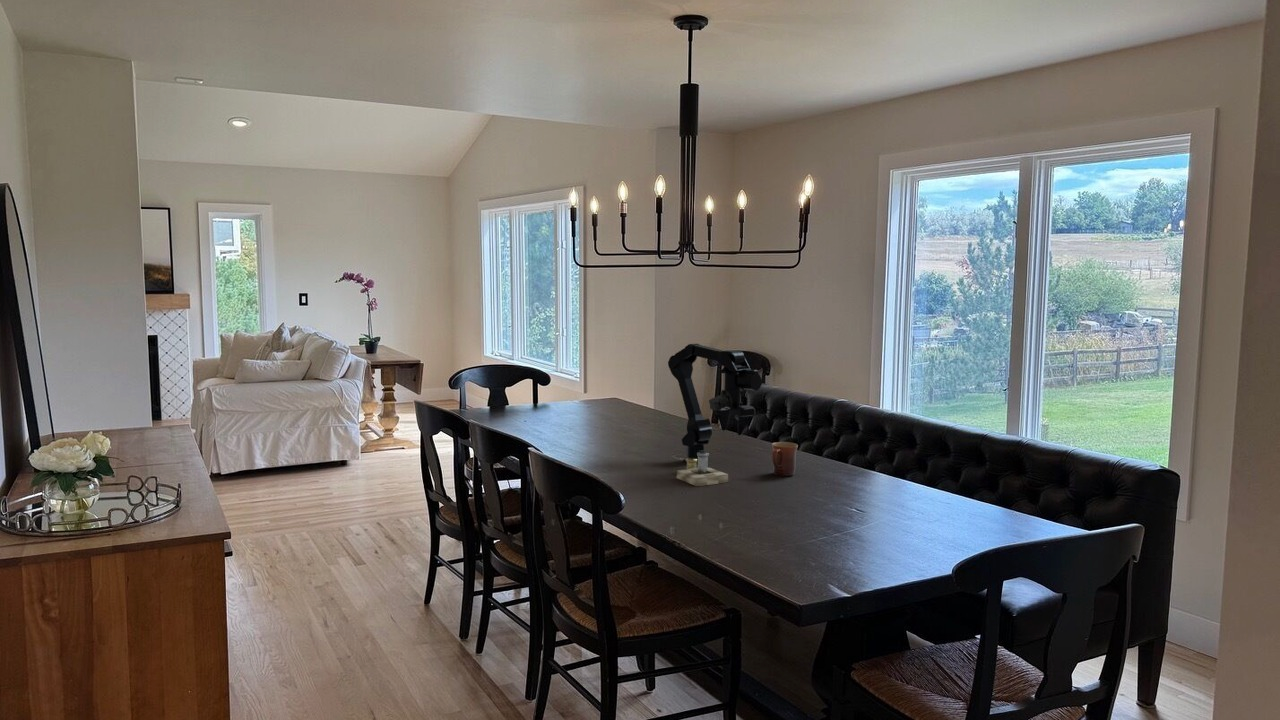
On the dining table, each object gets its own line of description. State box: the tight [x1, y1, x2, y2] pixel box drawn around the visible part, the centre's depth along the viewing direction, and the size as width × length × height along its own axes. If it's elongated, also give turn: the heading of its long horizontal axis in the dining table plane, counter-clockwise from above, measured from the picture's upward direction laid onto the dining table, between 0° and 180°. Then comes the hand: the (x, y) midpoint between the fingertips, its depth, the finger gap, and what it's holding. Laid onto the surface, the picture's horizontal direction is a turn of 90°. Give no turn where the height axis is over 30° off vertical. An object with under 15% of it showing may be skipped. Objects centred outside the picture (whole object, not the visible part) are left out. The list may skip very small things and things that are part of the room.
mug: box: [771, 441, 799, 477], centre depth 293 cm, size 12×9×10 cm
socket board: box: [676, 467, 729, 487], centre depth 285 cm, size 12×12×3 cm
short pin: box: [685, 457, 697, 469], centre depth 296 cm, size 4×4×5 cm
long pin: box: [697, 451, 710, 474], centre depth 285 cm, size 4×4×9 cm
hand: (731, 432), depth 299 cm, fingers open, 9 cm apart
